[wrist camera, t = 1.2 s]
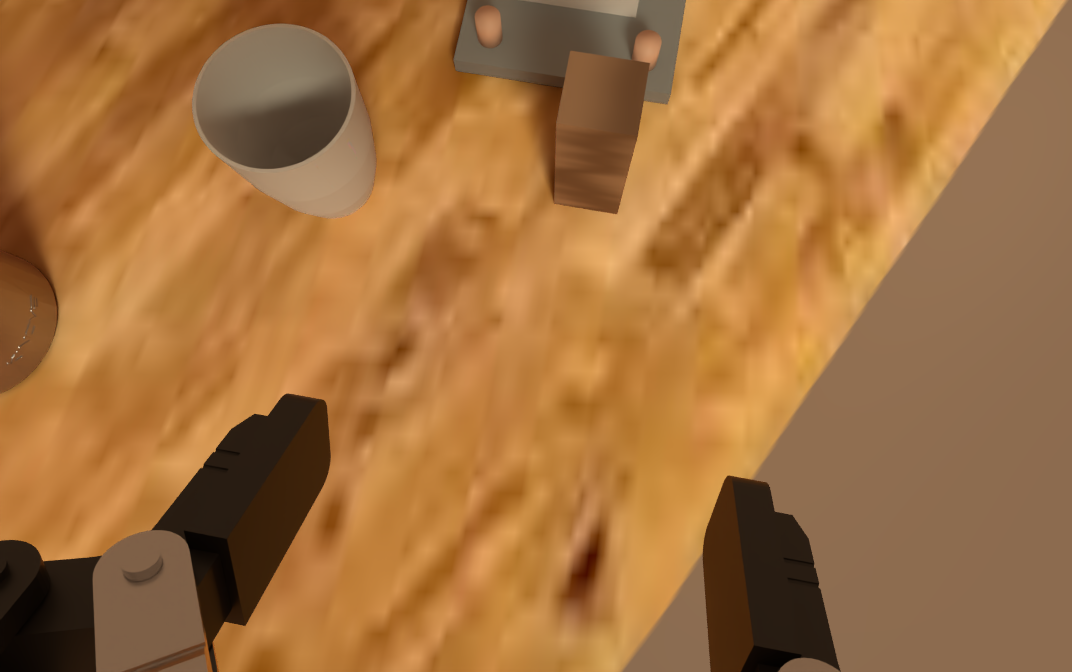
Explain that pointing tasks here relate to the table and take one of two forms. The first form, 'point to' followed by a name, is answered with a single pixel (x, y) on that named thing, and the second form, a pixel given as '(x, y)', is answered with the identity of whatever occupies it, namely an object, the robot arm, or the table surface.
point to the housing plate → (569, 38)
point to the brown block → (597, 129)
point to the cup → (288, 118)
